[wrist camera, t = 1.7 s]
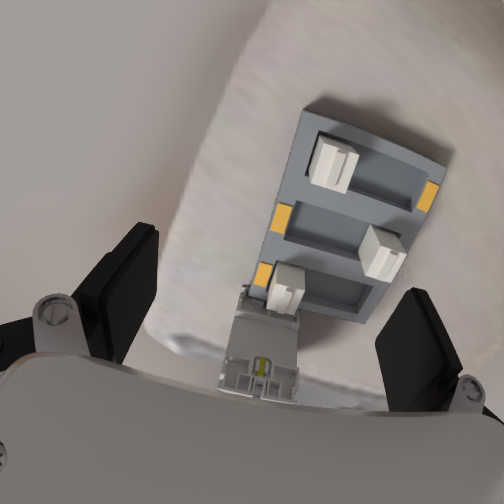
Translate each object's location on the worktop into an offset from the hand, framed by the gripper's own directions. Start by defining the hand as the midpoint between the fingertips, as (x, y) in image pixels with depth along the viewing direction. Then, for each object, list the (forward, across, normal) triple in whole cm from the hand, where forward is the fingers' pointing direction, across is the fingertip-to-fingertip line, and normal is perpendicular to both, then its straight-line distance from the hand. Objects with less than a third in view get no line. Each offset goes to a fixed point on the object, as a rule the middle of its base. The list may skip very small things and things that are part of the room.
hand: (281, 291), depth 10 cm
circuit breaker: (+22, -3, +24) cm, 32 cm away
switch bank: (+21, -8, +6) cm, 23 cm away
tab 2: (+19, -4, -1) cm, 20 cm away
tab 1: (+20, -4, +13) cm, 24 cm away
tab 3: (+19, -12, +6) cm, 23 cm away
